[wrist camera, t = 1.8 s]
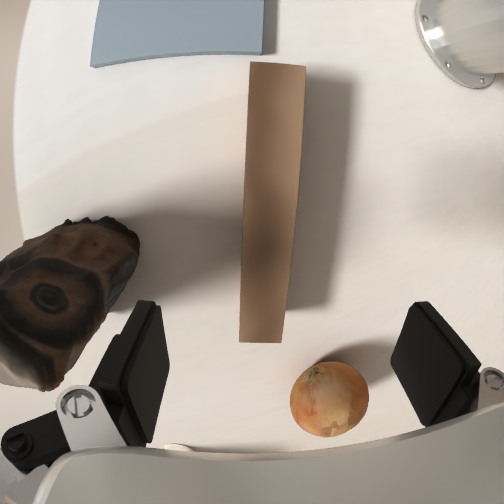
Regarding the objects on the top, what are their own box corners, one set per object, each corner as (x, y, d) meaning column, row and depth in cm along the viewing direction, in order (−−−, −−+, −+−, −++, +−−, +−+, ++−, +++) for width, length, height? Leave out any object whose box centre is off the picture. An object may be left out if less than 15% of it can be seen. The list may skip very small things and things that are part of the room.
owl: (35, 243, 28) (-77, 339, 10) (89, 167, 25) (-75, 239, 7) (104, 317, 32) (31, 449, 14) (170, 257, 29) (91, 424, 11)
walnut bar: (294, 78, 23) (305, 66, 18) (276, 310, 32) (281, 342, 27) (249, 75, 23) (250, 61, 18) (239, 310, 32) (239, 342, 27)
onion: (312, 403, 39) (324, 458, 30) (270, 373, 36) (276, 436, 27) (368, 369, 37) (391, 424, 27) (332, 332, 34) (355, 395, 24)
